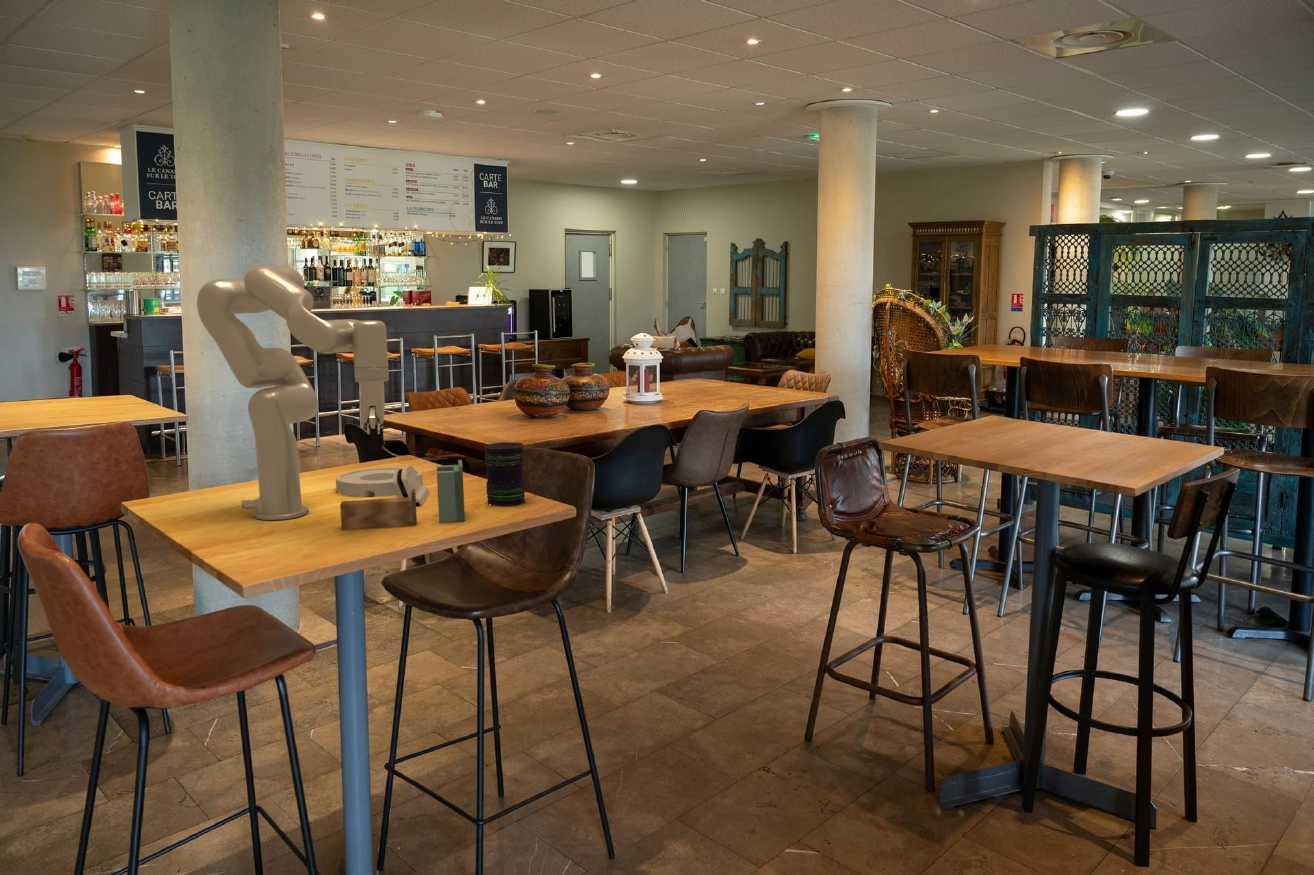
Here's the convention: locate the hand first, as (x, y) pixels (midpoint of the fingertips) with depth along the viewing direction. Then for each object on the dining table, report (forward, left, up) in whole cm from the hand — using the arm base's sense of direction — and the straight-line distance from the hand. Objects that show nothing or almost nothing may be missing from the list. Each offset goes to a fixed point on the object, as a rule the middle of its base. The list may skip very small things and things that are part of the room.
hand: (376, 448), depth 226 cm
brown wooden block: (-1, 0, -18) cm, 19 cm away
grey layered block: (+6, +26, -19) cm, 33 cm away
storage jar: (+30, +17, -19) cm, 39 cm away
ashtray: (-3, +45, -19) cm, 49 cm away
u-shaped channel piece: (+16, +4, -18) cm, 25 cm away
